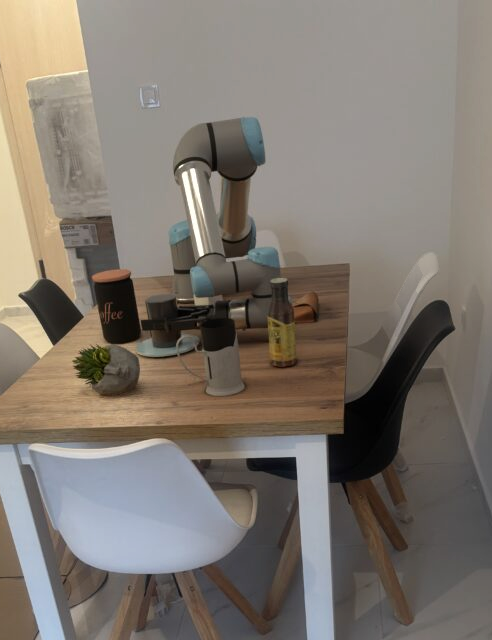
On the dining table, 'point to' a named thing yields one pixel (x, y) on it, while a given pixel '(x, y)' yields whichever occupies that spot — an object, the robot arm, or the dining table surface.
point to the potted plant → (108, 369)
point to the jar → (207, 300)
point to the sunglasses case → (306, 308)
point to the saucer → (148, 349)
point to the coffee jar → (117, 306)
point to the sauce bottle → (281, 325)
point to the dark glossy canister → (159, 309)
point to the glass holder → (219, 357)
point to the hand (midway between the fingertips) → (146, 320)
